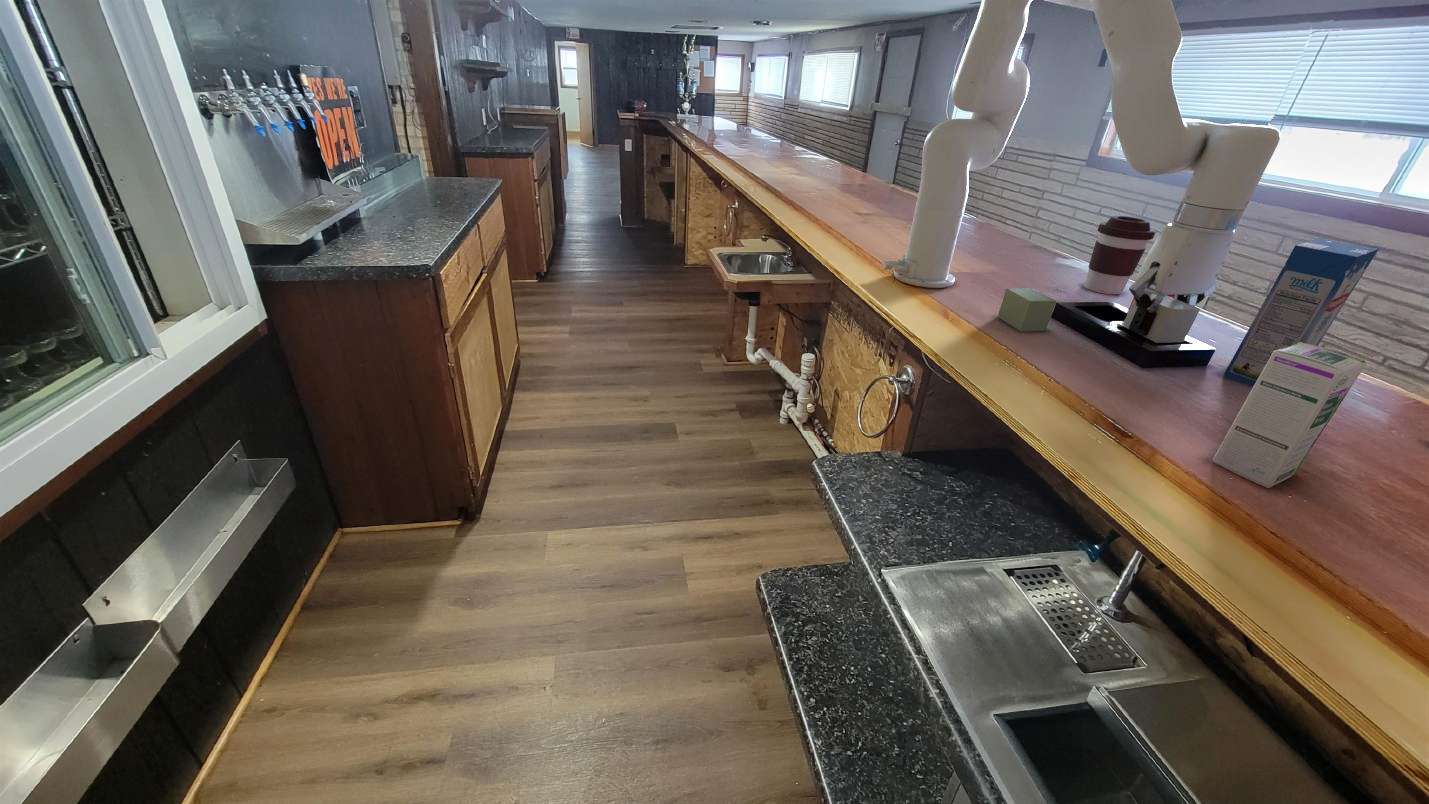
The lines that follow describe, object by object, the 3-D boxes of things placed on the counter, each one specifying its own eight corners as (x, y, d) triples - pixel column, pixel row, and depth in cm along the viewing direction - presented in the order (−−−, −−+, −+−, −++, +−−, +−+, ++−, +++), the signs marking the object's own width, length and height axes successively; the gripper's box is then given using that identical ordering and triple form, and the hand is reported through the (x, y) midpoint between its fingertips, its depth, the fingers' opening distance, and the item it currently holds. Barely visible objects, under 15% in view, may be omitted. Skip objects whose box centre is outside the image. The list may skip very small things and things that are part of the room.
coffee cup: (1133, 290, 123) (1163, 220, 116) (1123, 300, 117) (1155, 227, 109) (1083, 279, 129) (1108, 212, 121) (1071, 288, 122) (1097, 217, 115)
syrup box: (1269, 490, 61) (1349, 371, 54) (1208, 460, 66) (1274, 347, 58) (1293, 476, 64) (1373, 361, 56) (1232, 449, 68) (1299, 339, 61)
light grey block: (1156, 342, 89) (1172, 309, 86) (1122, 325, 95) (1136, 293, 92) (1183, 342, 89) (1200, 309, 87) (1147, 325, 95) (1162, 293, 93)
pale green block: (1020, 331, 99) (1030, 301, 96) (997, 317, 105) (1006, 288, 102) (1045, 331, 100) (1056, 300, 97) (1021, 316, 106) (1031, 287, 103)
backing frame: (1142, 368, 88) (1150, 351, 86) (1050, 317, 106) (1056, 302, 105) (1207, 366, 89) (1216, 348, 88) (1105, 316, 108) (1111, 301, 106)
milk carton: (1273, 393, 82) (1357, 256, 72) (1222, 375, 86) (1295, 245, 76) (1297, 378, 87) (1379, 248, 77) (1248, 362, 91) (1319, 238, 81)
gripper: (1231, 213, 87) (1177, 322, 96) (1135, 211, 85) (1089, 324, 94) (1280, 224, 81) (1217, 340, 90) (1178, 223, 78) (1124, 342, 87)
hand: (1152, 331), depth 92 cm, fingers closed on light grey block, 5 cm apart
